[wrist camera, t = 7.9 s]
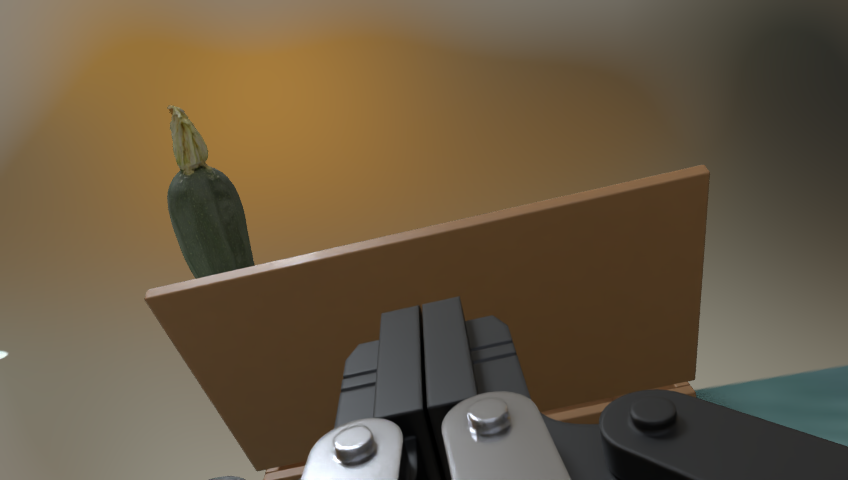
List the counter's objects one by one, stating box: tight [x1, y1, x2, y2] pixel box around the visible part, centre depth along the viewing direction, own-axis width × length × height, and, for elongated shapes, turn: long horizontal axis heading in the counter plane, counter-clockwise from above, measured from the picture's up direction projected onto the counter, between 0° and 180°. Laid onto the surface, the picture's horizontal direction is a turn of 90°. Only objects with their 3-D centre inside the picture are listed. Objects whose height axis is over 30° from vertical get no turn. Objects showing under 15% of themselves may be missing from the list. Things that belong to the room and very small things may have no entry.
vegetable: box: [167, 105, 255, 279], centre depth 44 cm, size 4×4×20 cm
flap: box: [144, 165, 710, 471], centre depth 20 cm, size 15×8×1 cm
